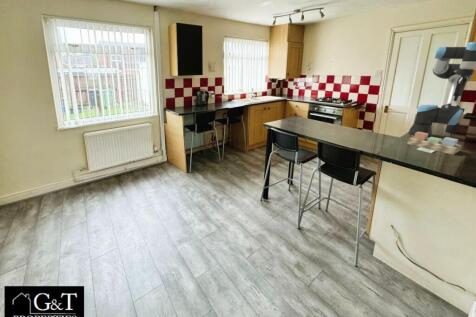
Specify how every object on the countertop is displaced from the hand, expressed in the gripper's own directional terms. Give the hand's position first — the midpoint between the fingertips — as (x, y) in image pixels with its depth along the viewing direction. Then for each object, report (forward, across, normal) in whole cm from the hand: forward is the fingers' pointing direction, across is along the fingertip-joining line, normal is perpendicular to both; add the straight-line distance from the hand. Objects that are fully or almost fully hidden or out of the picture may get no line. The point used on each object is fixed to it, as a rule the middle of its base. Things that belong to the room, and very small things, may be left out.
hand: (453, 105), depth 166 cm
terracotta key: (+23, -18, +8) cm, 31 cm away
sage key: (+25, -18, 0) cm, 31 cm away
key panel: (+26, -18, 0) cm, 32 cm away
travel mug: (+27, +46, +6) cm, 53 cm away
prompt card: (+26, -30, 0) cm, 40 cm away
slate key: (+23, -18, -8) cm, 31 cm away
